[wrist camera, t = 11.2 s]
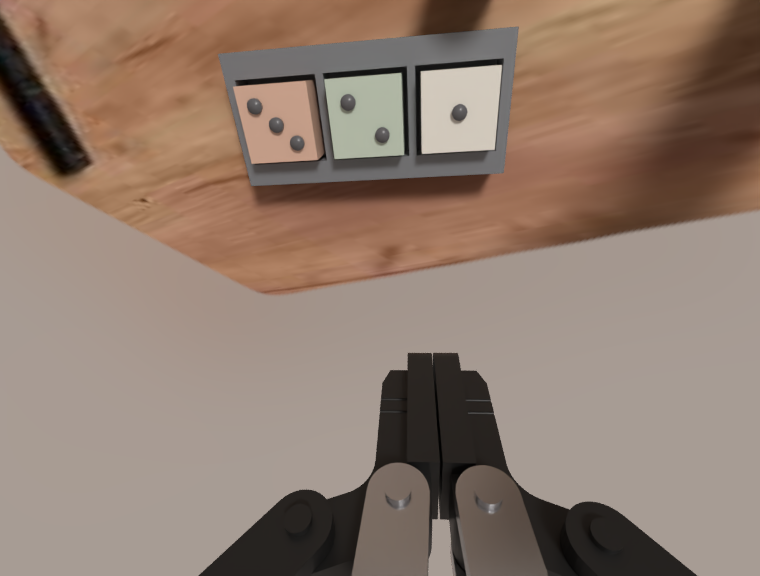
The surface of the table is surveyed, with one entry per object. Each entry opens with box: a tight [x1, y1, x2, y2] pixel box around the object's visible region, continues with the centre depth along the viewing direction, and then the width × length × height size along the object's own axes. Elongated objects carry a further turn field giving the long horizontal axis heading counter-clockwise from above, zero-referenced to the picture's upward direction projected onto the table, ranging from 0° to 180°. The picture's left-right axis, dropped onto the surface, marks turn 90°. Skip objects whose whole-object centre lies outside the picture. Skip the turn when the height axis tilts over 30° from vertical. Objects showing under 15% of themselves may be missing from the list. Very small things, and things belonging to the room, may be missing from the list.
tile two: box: [324, 73, 405, 159], centre depth 29 cm, size 6×6×3 cm
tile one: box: [420, 65, 502, 154], centre depth 28 cm, size 6×6×3 cm
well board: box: [218, 27, 519, 186], centre depth 30 cm, size 22×10×4 cm, turn 94°
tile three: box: [233, 80, 325, 164], centre depth 30 cm, size 6×6×3 cm
